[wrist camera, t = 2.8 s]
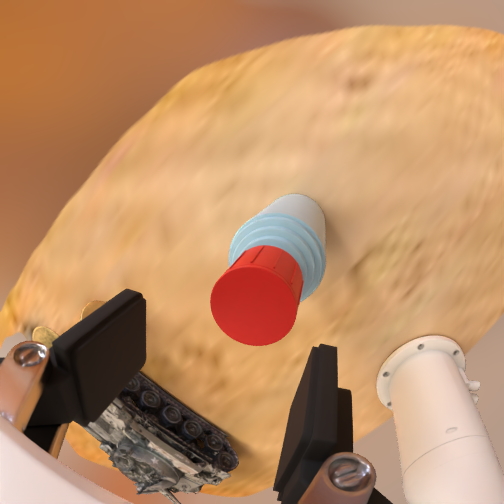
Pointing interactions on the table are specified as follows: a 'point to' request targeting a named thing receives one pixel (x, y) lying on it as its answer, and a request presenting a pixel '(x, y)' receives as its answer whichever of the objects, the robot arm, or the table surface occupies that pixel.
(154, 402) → the tank
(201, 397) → the table surface
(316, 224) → the bottle
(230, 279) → the cap
